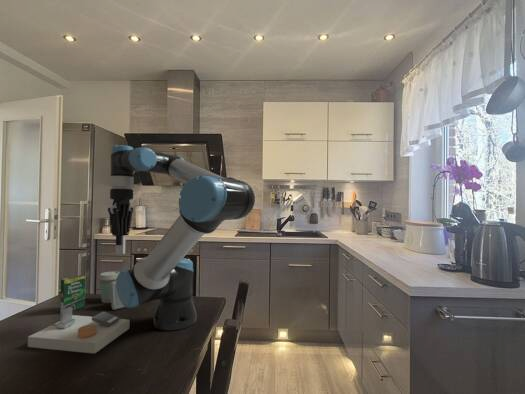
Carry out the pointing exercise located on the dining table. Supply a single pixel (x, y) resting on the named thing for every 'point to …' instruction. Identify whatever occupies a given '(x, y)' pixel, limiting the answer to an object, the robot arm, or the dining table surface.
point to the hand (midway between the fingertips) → (120, 253)
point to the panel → (69, 336)
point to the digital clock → (115, 297)
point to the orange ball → (87, 331)
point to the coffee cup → (107, 285)
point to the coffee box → (73, 292)
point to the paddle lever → (66, 318)
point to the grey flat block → (105, 318)
